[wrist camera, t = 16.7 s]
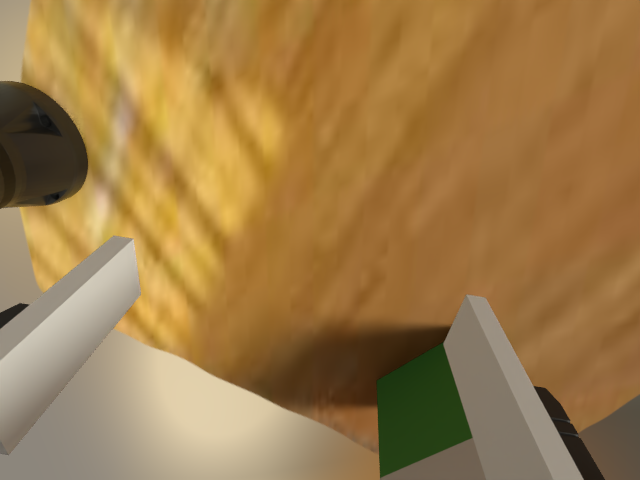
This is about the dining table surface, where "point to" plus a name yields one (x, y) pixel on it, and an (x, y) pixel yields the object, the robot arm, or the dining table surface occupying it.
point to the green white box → (424, 423)
